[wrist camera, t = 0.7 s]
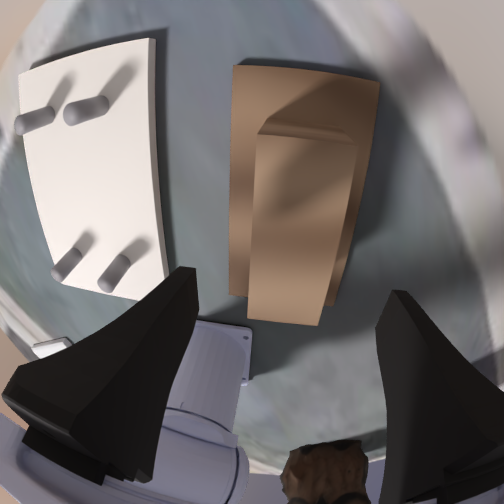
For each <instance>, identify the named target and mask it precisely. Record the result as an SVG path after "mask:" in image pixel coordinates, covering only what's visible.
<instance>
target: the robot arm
mask: <svg viewBox="0 0 504 504" xmlns="http://www.w3.org/2000/svg"><path fill="white" fill-rule="evenodd" d="M198 312H199V301H198V290H197V278H196V268H190V267H183V266H179V267H178V268H177V269H176V270H175V271H173V272H172V273H171V274H170V275H169V276H168V277H167V278H165V279H164V280H163V281H162V282H161V283H160V284H159V285H158V286H156V287H155V288H154V289H153V290H152V291H151V292H149V293H148V294H147V295H146V296H145V297H144V298H142V299H141V300H140V301H139V302H138V303H136V304H135V305H134V306H132V307H131V308H130V309H129V310H127V311H126V312H125V313H123V314H122V315H121V316H120V317H118V318H117V319H115V320H114V321H112V322H111V323H109V324H108V325H106V326H105V327H103V328H102V329H100V330H99V331H97V332H95V333H93V334H92V335H90V336H88V337H86V338H84V339H83V340H81V341H79V342H77V343H75V344H73V345H71V346H69V347H67V348H65V349H63V350H61V351H58V352H56V353H54V354H51V355H49V356H47V357H44V358H41V359H38V360H35V361H32V362H29V363H27V364H24V365H20V366H18V368H17V369H16V371H15V372H14V374H13V376H12V377H11V379H10V381H9V382H8V384H7V386H6V388H5V389H4V391H3V393H2V398H3V400H4V402H5V403H6V404H7V405H8V406H9V407H10V408H11V409H12V410H13V411H14V412H15V413H16V414H17V415H19V416H20V417H21V418H22V419H23V420H24V421H25V422H26V423H28V425H29V427H28V429H27V431H26V430H25V429H23V428H22V427H21V426H19V425H18V424H16V423H15V422H13V421H12V420H10V419H9V418H8V417H6V416H4V415H3V414H2V413H0V486H1V487H2V488H3V489H5V490H6V491H7V492H8V493H9V494H10V495H11V496H12V497H14V498H15V499H16V500H17V501H18V502H19V503H20V504H238V503H239V502H240V501H241V499H242V497H243V495H244V492H245V490H246V487H247V483H248V478H249V460H248V457H247V456H246V453H245V451H244V449H243V448H242V447H240V446H237V441H238V435H235V434H232V430H233V424H234V419H235V414H236V408H237V403H238V398H239V392H240V387H241V385H243V386H246V385H248V380H249V368H250V356H251V344H252V330H251V329H250V328H247V327H240V326H232V325H225V324H219V323H212V322H206V321H199V320H197V316H198ZM375 330H376V345H377V354H378V360H379V365H380V371H381V376H382V381H383V387H384V393H385V399H386V408H387V447H386V460H385V470H384V477H383V483H382V488H381V494H380V498H379V504H504V392H503V391H502V390H500V389H499V388H498V387H496V386H495V385H494V384H493V383H491V382H490V381H489V380H488V379H487V378H486V377H484V376H483V375H482V374H481V373H480V372H479V371H478V370H477V369H476V368H474V367H473V366H472V365H471V364H470V363H469V362H468V361H467V360H466V359H465V358H464V357H463V356H462V354H461V353H460V352H459V351H458V350H457V349H456V348H455V347H454V346H453V345H452V344H451V342H450V341H449V340H448V339H447V338H446V337H445V336H444V334H443V333H442V332H441V331H440V330H439V328H438V327H437V326H436V325H435V324H434V322H433V321H432V320H431V319H430V318H429V316H428V315H427V314H426V313H425V312H424V310H423V309H422V308H421V307H420V306H419V304H418V303H417V302H416V301H415V300H414V299H413V297H412V296H411V295H410V294H409V293H408V292H407V291H402V290H392V291H391V294H390V296H389V298H388V301H387V303H386V305H385V308H384V310H383V312H382V314H381V317H380V319H379V321H378V323H377V325H376V327H375Z"/></svg>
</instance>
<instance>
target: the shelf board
mask: <svg viewBox="0 0 504 504" xmlns="http://www.w3.org/2000/svg"><path fill="white" fill-rule="evenodd" d="M379 89H380V82H376V81H371V80H367V79H362V78H357V77H351V76H346V75H340V74H334V73H328V72H321V71H313V70H305V69H296V68H285V67H272V66H252V65H233V82H232V110H231V146H230V197H229V295H234V296H242V297H248V312H247V318H249V319H257V320H265V321H274V322H283V323H293V324H303V325H314V326H318V322H319V319H320V315H321V312H322V308H323V305H324V306H334V302H335V299H336V296H337V292H338V289H339V286H340V282H341V279H342V275H343V271H344V268H345V264H346V260H347V257H348V253H349V249H350V245H351V241H352V237H353V233H354V229H355V225H356V220H357V216H358V212H359V207H360V203H361V198H362V193H363V189H364V184H365V179H366V174H367V168H368V163H369V157H370V152H371V146H372V140H373V134H374V127H375V120H376V113H377V106H378V98H379Z"/></svg>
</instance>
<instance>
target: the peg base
mask: <svg viewBox="0 0 504 504" xmlns="http://www.w3.org/2000/svg"><path fill="white" fill-rule="evenodd" d="M155 51H156V39H152V38H144V39H138V40H133V41H127V42H122V43H118V44H113V45H108V46H104V47H100V48H96V49H92V50H88V51H85V52H81V53H78V54H74V55H71V56H68V57H65V58H62V59H59V60H56V61H53V62H50V63H47V64H44V65H42V66H39V67H36V68H34V69H31V70H29V71H26V72H24V73H22V74H19V98H20V111H21V115H19V116H17V117H16V119H15V122H14V127H15V131H16V133H17V134H18V135H23V138H24V145H25V152H26V158H27V164H28V169H29V174H30V179H31V184H32V188H33V193H34V197H35V201H36V205H37V209H38V213H39V216H40V220H41V224H42V227H43V230H44V234H45V237H46V240H47V243H48V247H49V250H50V253H51V255H52V258H53V261H54V264H55V266H54V267H53V268H52V269H51V274H52V276H53V278H54V279H55V280H56V281H58V282H61V283H62V284H65V285H69V286H73V287H78V288H82V289H86V290H91V291H95V292H100V293H104V294H109V295H114V296H119V297H124V298H129V299H134V300H139V301H140V300H141V299H142V298H144V297H145V296H146V295H147V294H148V293H149V292H151V291H152V290H153V289H154V288H155V287H156V286H158V285H159V284H160V283H161V282H162V281H163V280H164V279H165V278H167V277H168V276H169V269H168V262H167V254H166V246H165V238H164V230H163V221H162V211H161V200H160V189H159V176H158V162H157V144H156V118H155Z"/></svg>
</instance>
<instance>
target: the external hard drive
mask: <svg viewBox="0 0 504 504" xmlns="http://www.w3.org/2000/svg"><path fill="white" fill-rule="evenodd" d="M71 345H72V344H71V343H70V342H69V341H68V340H67V339H66V338H61V339H57V340H52V341H48V342H44V343H39V344H35V345H33V347H32V350H33V352H34V353H35V354H36V355H37V356H38V357H39V358H40V359H41V358H44V357H47V356H49V355H51V354H54V353H56V352H58V351H61V350H63V349H65V348H67V347H69V346H71Z"/></svg>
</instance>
